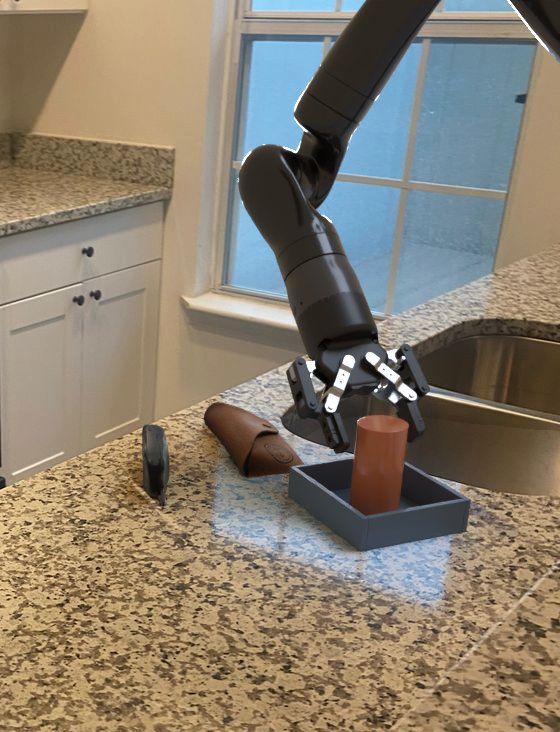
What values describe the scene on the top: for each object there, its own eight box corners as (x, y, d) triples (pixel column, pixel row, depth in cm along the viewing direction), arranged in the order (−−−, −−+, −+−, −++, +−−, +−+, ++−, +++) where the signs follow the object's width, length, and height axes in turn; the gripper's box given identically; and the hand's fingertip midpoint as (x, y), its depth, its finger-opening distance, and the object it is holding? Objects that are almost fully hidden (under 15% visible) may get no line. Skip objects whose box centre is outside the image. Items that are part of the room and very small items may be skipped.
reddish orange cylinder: (380, 500, 110) (389, 412, 106) (408, 518, 106) (419, 427, 102) (339, 507, 109) (347, 418, 105) (365, 526, 105) (375, 434, 101)
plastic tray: (383, 483, 116) (387, 450, 114) (465, 535, 103) (471, 499, 101) (287, 500, 112) (289, 466, 111) (359, 556, 100) (363, 519, 98)
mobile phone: (139, 420, 123) (144, 465, 109) (164, 420, 123) (173, 465, 109) (139, 459, 125) (144, 508, 111) (163, 459, 125) (172, 507, 111)
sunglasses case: (314, 471, 118) (289, 426, 115) (262, 504, 119) (235, 460, 116) (265, 419, 134) (241, 379, 131) (219, 448, 135) (194, 409, 132)
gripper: (283, 296, 104) (334, 439, 99) (405, 282, 108) (460, 419, 103) (256, 334, 111) (303, 469, 106) (371, 320, 115) (421, 450, 110)
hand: (380, 445), depth 104 cm, fingers open, 8 cm apart
